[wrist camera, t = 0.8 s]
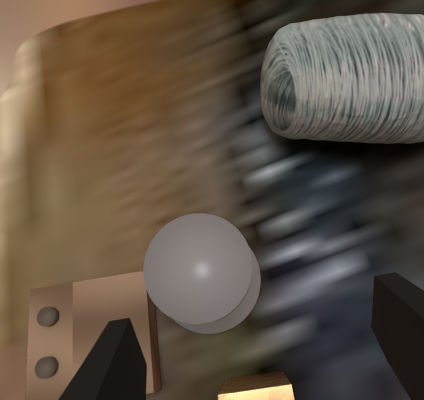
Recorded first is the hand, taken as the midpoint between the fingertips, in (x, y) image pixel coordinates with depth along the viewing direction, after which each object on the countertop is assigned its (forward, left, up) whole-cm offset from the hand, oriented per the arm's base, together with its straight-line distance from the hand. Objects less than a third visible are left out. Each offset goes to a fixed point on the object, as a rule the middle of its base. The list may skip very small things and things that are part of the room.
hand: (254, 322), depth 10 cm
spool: (+15, -10, -14) cm, 22 cm away
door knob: (+4, +3, -14) cm, 14 cm away
